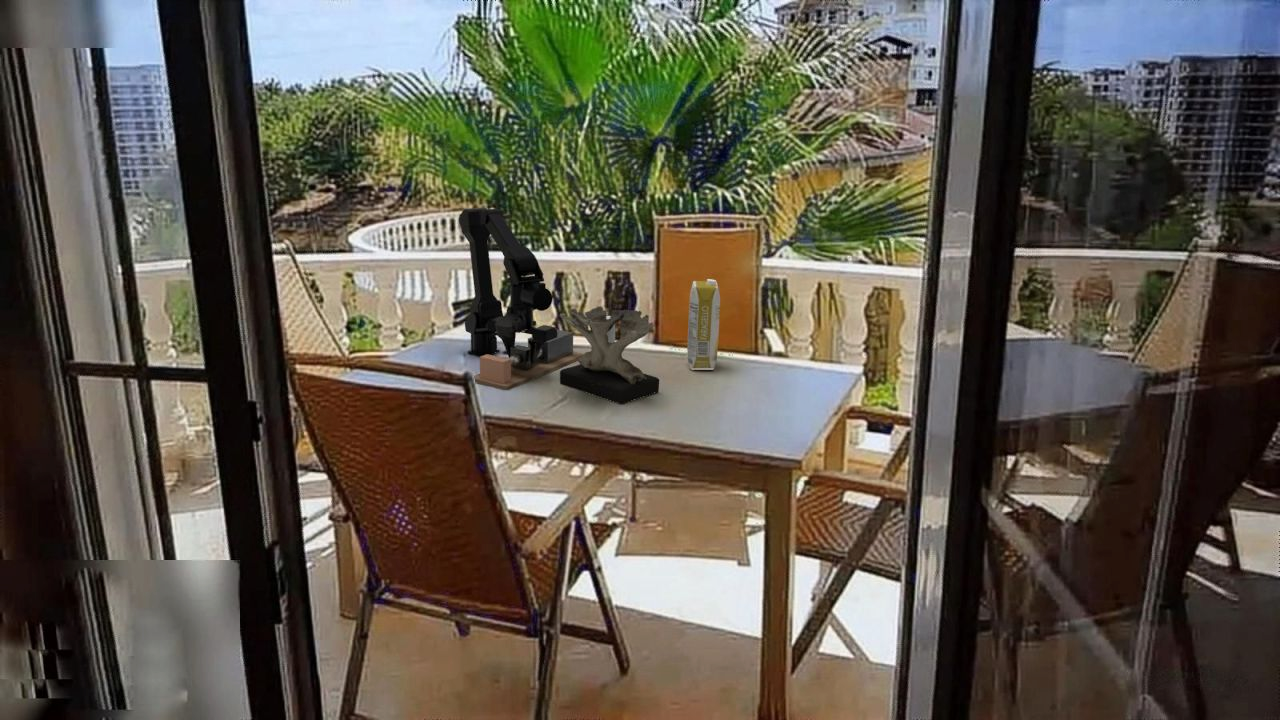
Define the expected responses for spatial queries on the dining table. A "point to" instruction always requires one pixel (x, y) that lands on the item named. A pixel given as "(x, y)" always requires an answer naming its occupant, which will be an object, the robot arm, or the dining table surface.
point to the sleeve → (556, 347)
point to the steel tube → (522, 357)
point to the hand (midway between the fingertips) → (521, 361)
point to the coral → (609, 356)
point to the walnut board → (529, 372)
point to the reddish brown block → (495, 368)
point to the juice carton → (703, 324)
